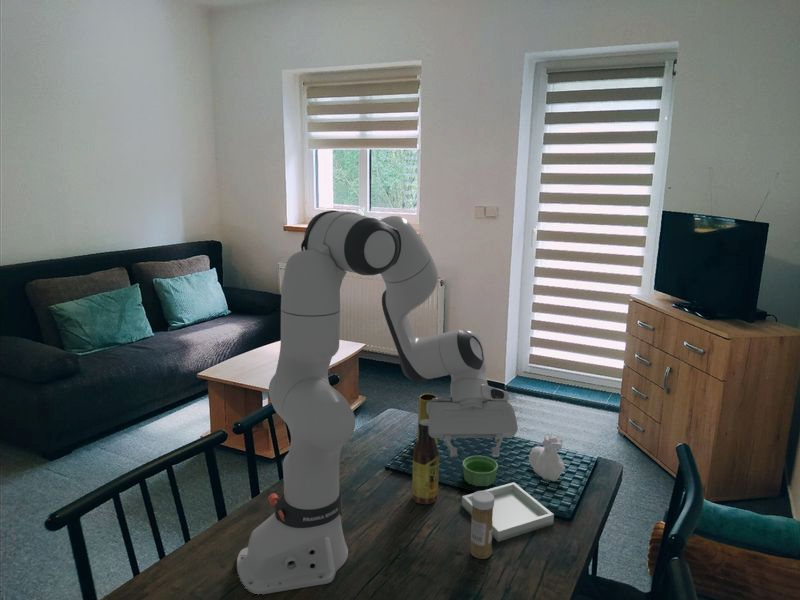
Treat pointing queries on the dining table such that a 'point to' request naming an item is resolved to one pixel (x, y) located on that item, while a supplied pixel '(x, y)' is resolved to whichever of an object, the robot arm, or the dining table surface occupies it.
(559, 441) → the duck figurine
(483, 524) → the sprinkles bottle
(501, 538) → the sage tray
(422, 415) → the vase
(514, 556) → the dining table surface
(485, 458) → the ramekin
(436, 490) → the sauce bottle
